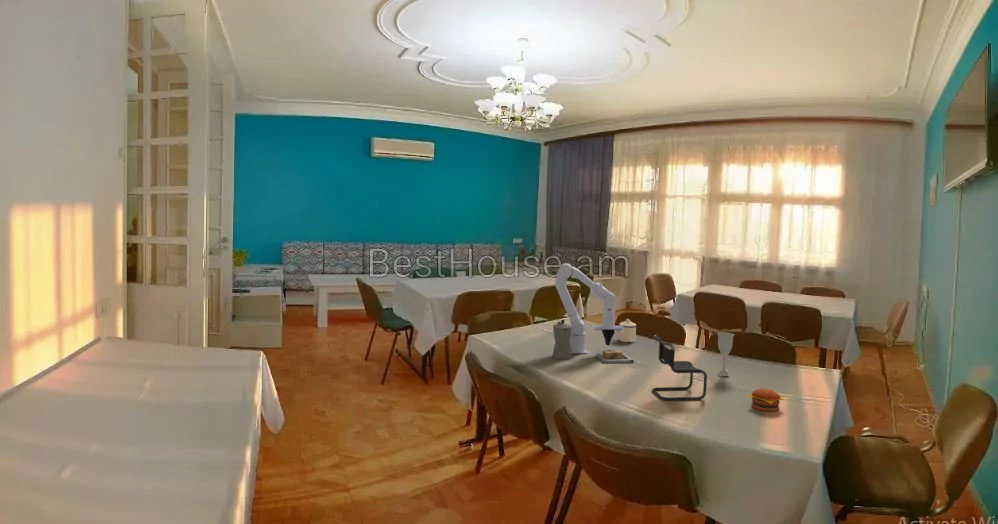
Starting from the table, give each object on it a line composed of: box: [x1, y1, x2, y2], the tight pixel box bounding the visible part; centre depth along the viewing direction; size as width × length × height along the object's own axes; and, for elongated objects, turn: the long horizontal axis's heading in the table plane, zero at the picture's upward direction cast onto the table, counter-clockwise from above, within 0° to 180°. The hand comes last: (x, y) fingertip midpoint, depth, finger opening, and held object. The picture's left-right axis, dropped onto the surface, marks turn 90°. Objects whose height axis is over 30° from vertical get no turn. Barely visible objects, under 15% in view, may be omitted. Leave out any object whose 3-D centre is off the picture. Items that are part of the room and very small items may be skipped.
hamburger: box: [747, 388, 785, 413], centre depth 206 cm, size 9×10×7 cm
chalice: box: [717, 331, 735, 377], centre depth 245 cm, size 7×7×18 cm
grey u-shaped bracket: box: [595, 352, 635, 364], centre depth 269 cm, size 14×12×1 cm
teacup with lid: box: [615, 318, 637, 343], centre depth 307 cm, size 12×9×12 cm
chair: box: [651, 335, 708, 402], centre depth 218 cm, size 13×17×22 cm
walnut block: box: [602, 349, 624, 360], centre depth 269 cm, size 8×5×4 cm, turn 99°
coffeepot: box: [552, 319, 572, 360], centre depth 272 cm, size 15×9×18 cm, turn 8°
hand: (607, 344), depth 279 cm, fingers closed
